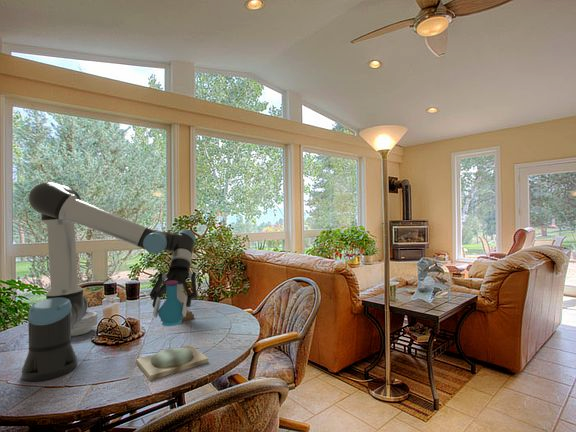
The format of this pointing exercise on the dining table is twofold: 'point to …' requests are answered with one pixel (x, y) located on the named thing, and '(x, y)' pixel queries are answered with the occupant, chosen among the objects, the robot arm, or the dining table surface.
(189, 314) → the candle holder
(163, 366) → the birch stand
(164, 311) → the perfume bottle
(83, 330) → the paper bowls
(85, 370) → the dining table surface
